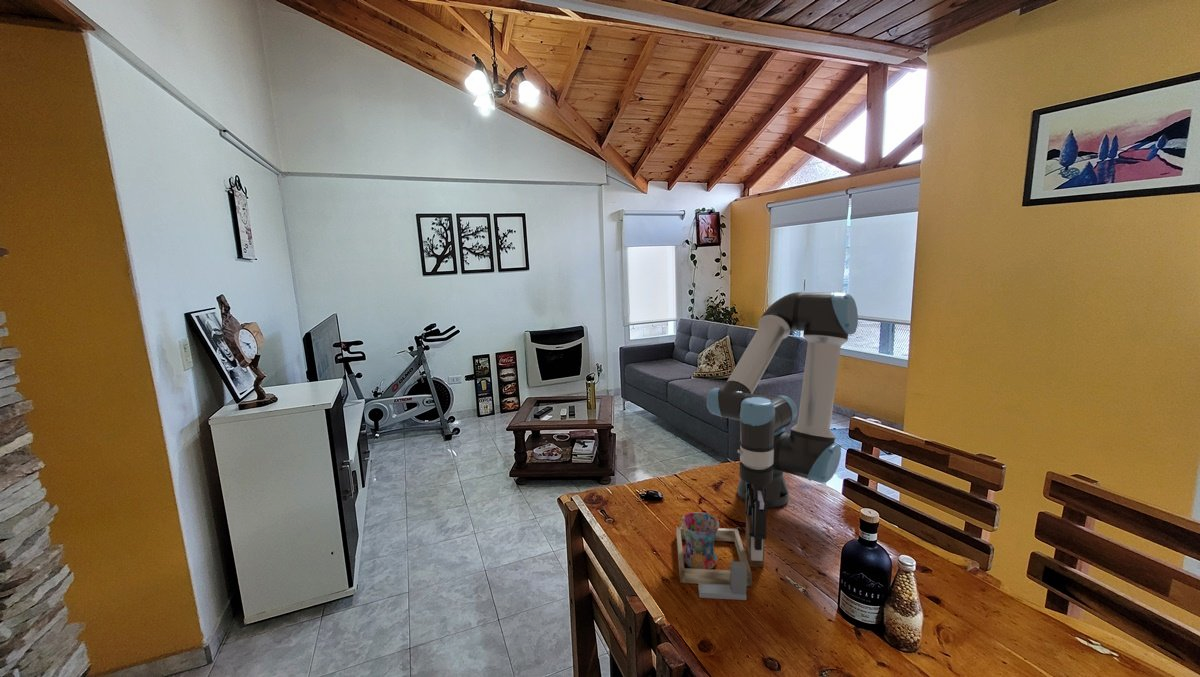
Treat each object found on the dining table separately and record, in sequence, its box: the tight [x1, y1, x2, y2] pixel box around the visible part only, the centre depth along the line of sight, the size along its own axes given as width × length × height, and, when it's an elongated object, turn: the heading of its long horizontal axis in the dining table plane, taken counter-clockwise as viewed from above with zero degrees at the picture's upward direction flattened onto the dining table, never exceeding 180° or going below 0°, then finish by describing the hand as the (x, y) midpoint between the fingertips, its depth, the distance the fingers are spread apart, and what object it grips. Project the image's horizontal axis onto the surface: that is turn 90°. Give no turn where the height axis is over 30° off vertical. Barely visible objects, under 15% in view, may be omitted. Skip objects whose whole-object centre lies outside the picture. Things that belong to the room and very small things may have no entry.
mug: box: [679, 511, 720, 570], centre depth 111 cm, size 12×9×11 cm
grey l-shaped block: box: [697, 560, 747, 601], centre depth 99 cm, size 10×3×7 cm, turn 83°
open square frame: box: [675, 514, 765, 587], centre depth 111 cm, size 20×18×11 cm
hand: (754, 553), depth 110 cm, fingers closed on open square frame, 4 cm apart
